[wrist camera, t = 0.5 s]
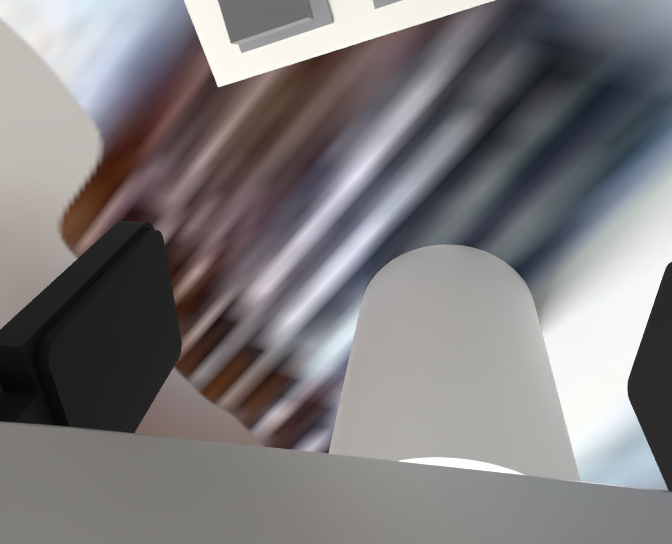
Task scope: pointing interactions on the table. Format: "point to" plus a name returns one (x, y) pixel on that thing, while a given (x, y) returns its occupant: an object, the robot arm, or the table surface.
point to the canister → (452, 370)
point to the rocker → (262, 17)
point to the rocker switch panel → (309, 32)
